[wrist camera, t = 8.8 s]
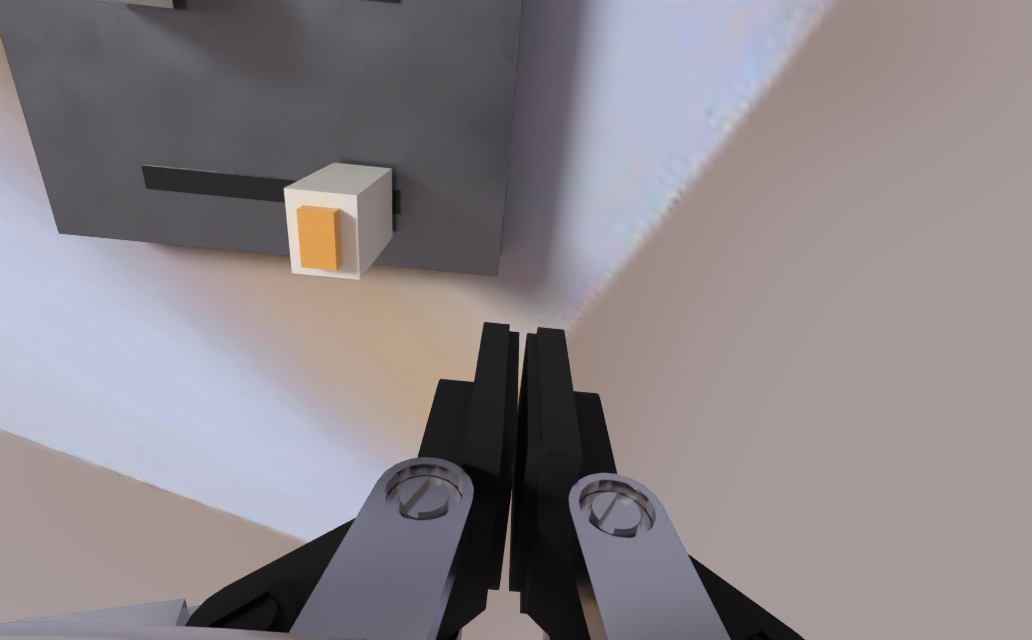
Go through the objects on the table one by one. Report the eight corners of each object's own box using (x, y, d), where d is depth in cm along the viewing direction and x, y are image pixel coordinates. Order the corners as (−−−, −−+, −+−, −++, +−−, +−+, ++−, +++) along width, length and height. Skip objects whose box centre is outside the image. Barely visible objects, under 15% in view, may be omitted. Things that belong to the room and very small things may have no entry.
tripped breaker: (391, 168, 22) (351, 199, 17) (392, 237, 23) (354, 285, 18) (333, 162, 22) (275, 192, 17) (337, 232, 23) (285, 279, 18)
